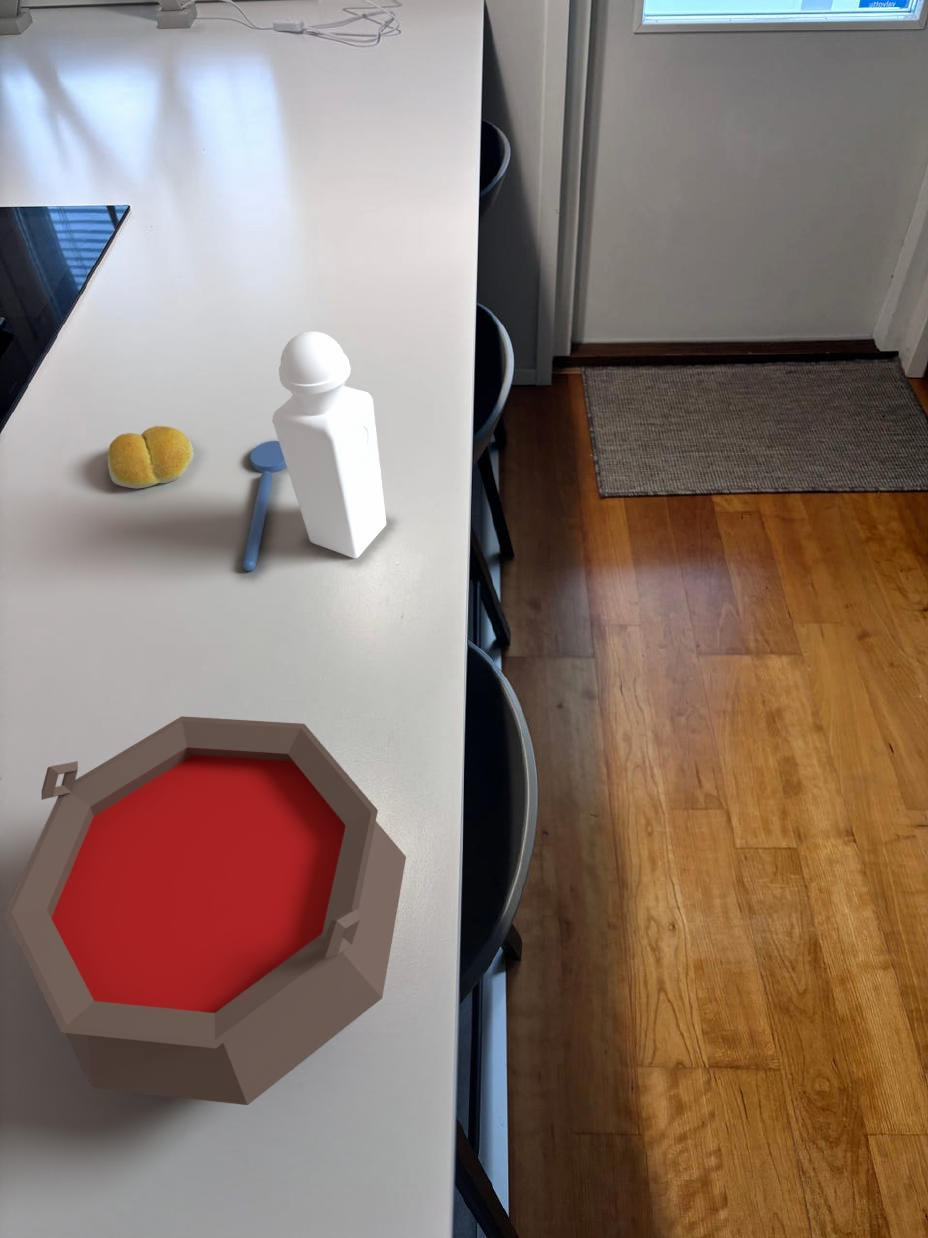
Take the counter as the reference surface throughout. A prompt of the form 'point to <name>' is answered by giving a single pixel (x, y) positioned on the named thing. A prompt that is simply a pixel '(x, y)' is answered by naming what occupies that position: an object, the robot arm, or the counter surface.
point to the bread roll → (149, 457)
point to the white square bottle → (330, 446)
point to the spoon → (262, 495)
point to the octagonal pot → (208, 908)
